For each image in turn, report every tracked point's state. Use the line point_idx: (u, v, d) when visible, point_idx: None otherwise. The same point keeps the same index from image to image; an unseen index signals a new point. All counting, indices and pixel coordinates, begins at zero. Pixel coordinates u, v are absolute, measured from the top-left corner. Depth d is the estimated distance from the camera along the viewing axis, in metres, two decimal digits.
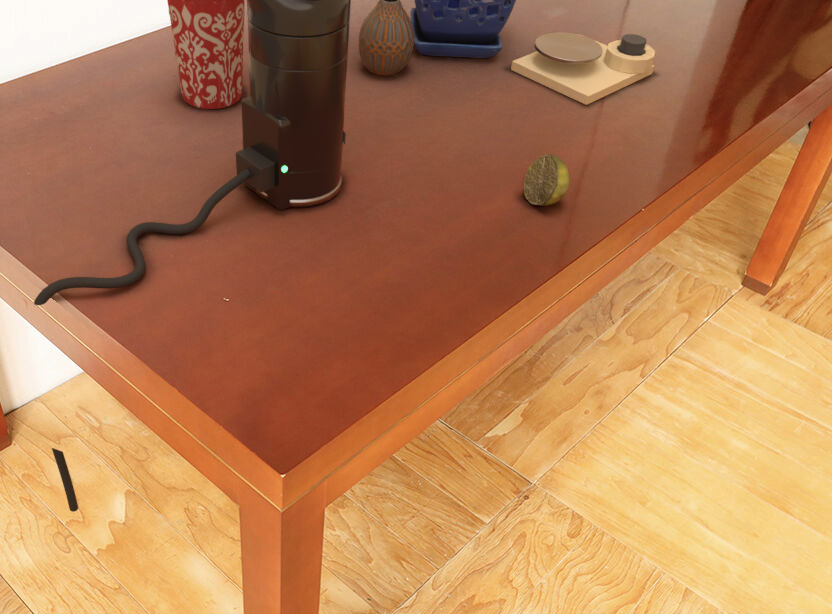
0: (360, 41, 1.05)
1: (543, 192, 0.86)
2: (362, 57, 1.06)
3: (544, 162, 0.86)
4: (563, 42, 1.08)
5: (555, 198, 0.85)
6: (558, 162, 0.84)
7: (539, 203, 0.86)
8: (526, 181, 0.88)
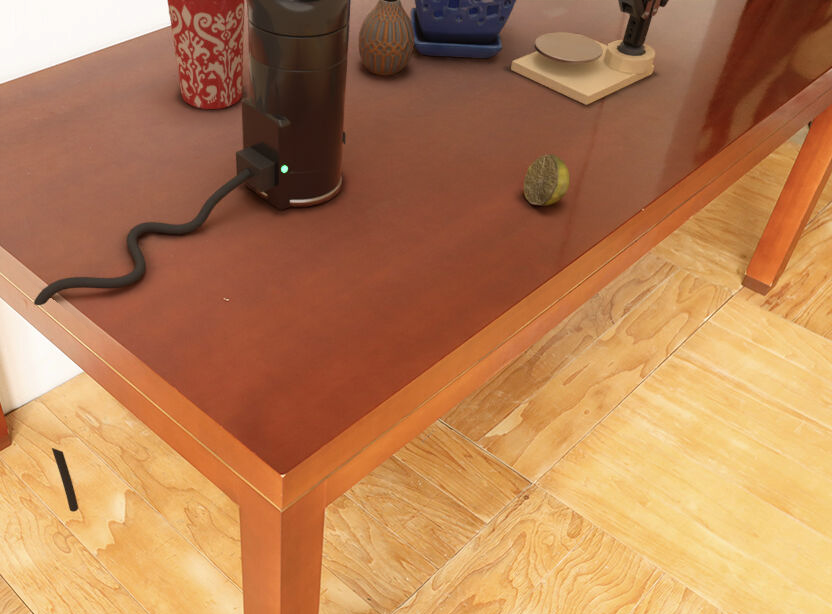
0: (360, 41, 1.05)
1: (543, 192, 0.86)
2: (362, 57, 1.06)
3: (544, 162, 0.86)
4: (563, 42, 1.08)
5: (555, 198, 0.85)
6: (558, 162, 0.84)
7: (539, 203, 0.86)
8: (526, 181, 0.88)
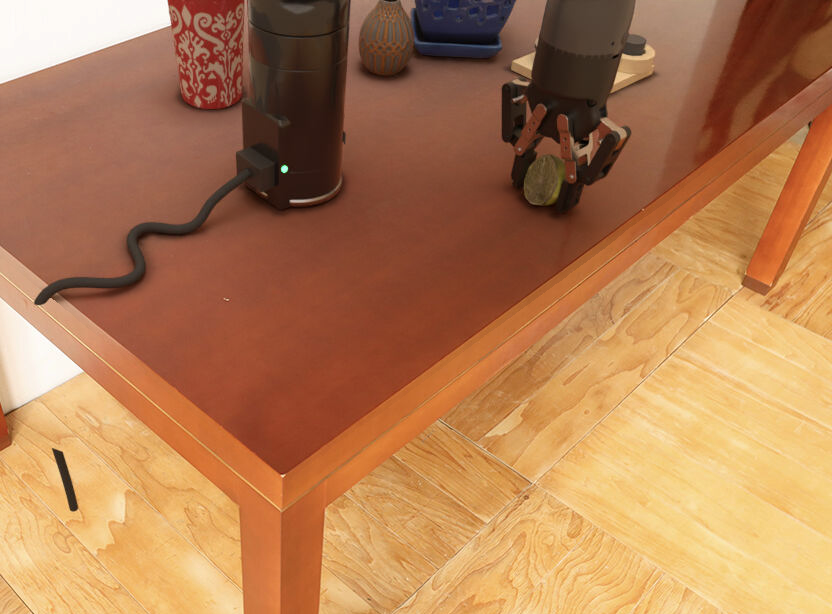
0: (360, 41, 1.05)
1: (543, 192, 0.86)
2: (362, 57, 1.06)
3: (544, 162, 0.86)
4: None
5: (555, 198, 0.85)
6: (558, 162, 0.84)
7: (539, 203, 0.86)
8: (526, 181, 0.88)
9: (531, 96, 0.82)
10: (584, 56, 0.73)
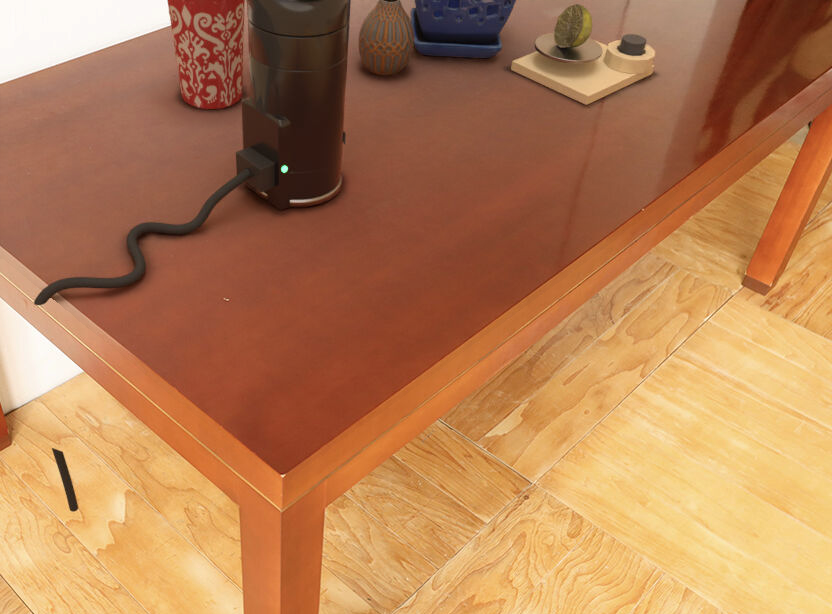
0: (360, 41, 1.05)
1: (570, 35, 1.05)
2: (362, 57, 1.06)
3: (571, 11, 1.05)
4: None
5: (580, 40, 1.04)
6: (583, 8, 1.03)
7: (567, 45, 1.05)
8: (556, 30, 1.07)
9: None
10: None
